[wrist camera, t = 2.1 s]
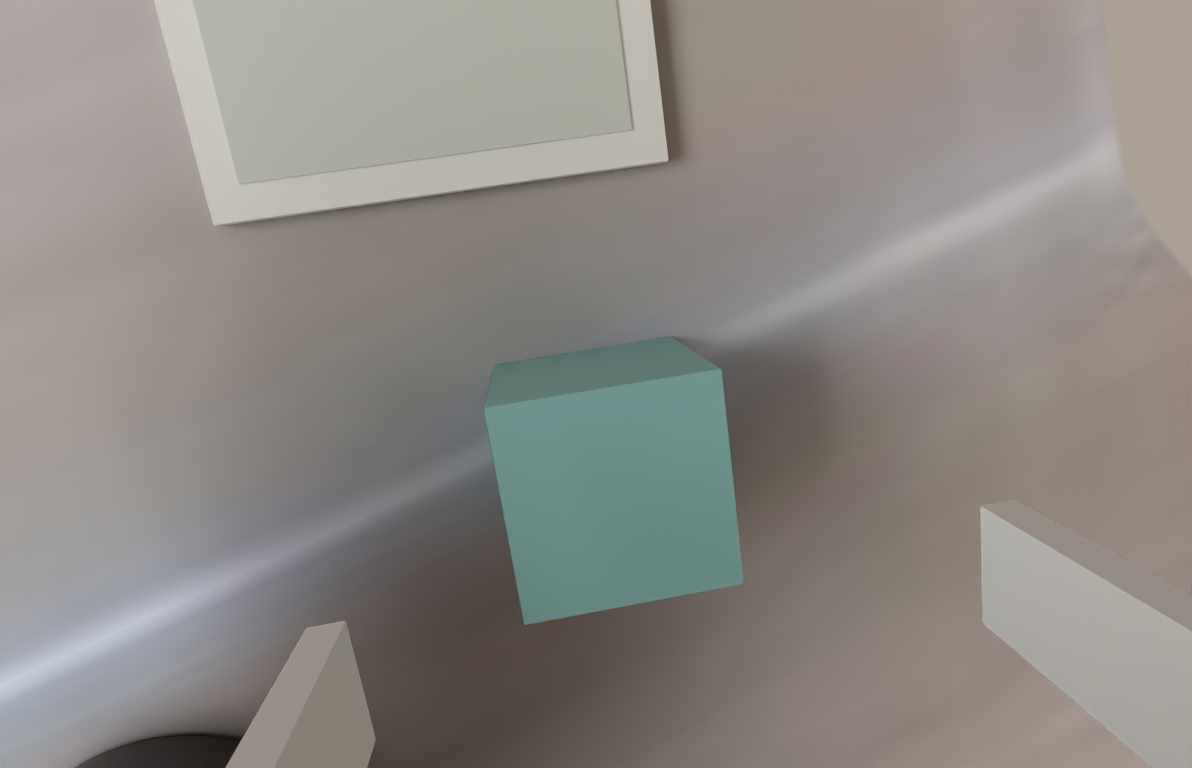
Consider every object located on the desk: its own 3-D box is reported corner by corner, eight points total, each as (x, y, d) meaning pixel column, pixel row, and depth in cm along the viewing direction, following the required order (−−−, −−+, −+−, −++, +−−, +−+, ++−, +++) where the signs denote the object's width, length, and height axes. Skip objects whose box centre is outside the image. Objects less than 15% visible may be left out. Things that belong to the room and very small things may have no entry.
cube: (524, 530, 28) (524, 625, 21) (494, 364, 26) (483, 407, 19) (690, 501, 28) (744, 583, 21) (671, 336, 27) (721, 368, 20)
